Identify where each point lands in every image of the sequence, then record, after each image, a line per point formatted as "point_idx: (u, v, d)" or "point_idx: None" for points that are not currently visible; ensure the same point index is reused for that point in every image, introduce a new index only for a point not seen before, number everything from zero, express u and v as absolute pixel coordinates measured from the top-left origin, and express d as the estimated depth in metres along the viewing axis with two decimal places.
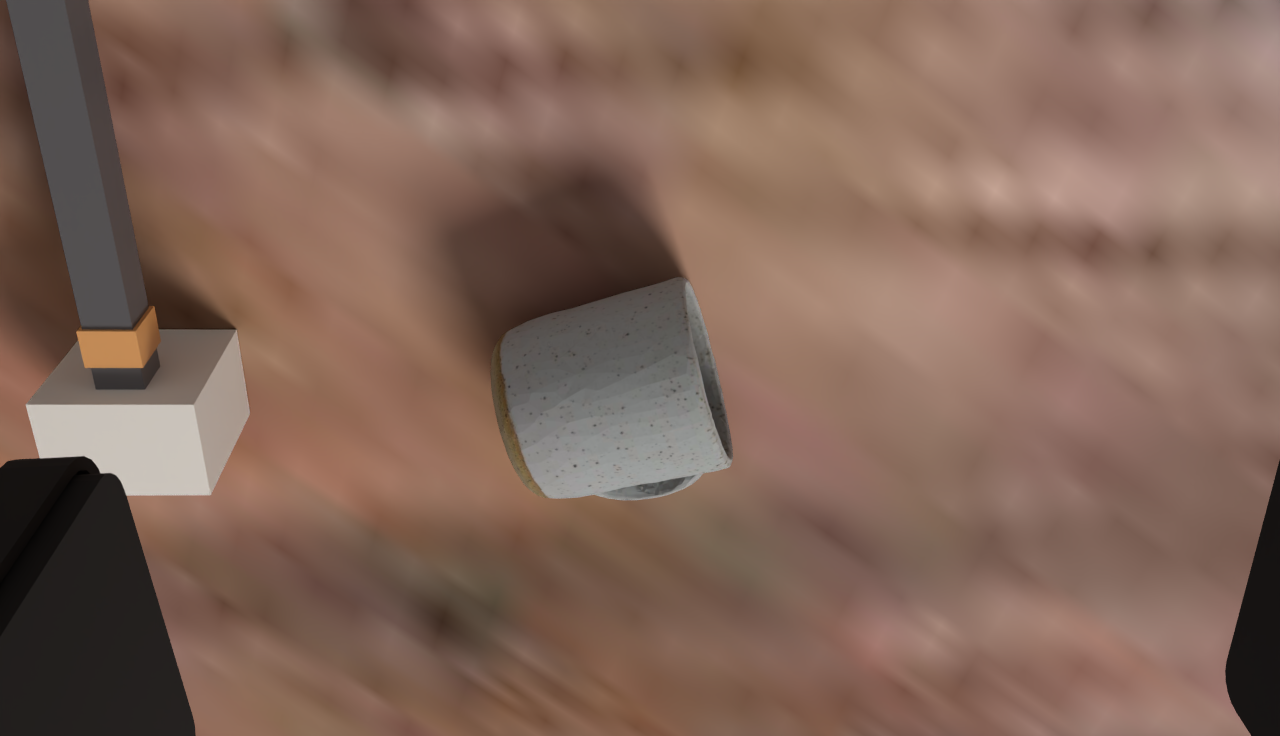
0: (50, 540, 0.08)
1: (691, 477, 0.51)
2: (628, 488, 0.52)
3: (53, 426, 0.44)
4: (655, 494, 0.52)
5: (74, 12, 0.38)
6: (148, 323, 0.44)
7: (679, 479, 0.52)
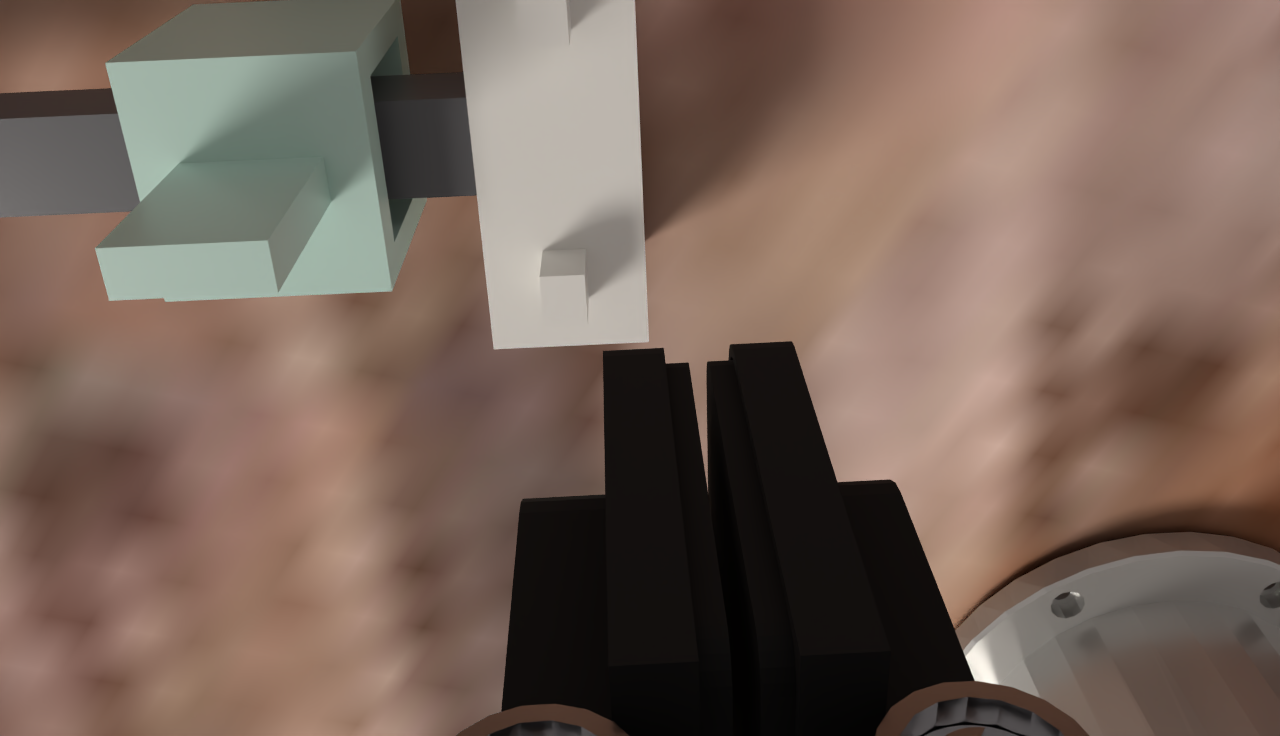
0: (683, 412, 0.09)
1: None
2: None
3: None
4: None
5: None
6: None
7: None
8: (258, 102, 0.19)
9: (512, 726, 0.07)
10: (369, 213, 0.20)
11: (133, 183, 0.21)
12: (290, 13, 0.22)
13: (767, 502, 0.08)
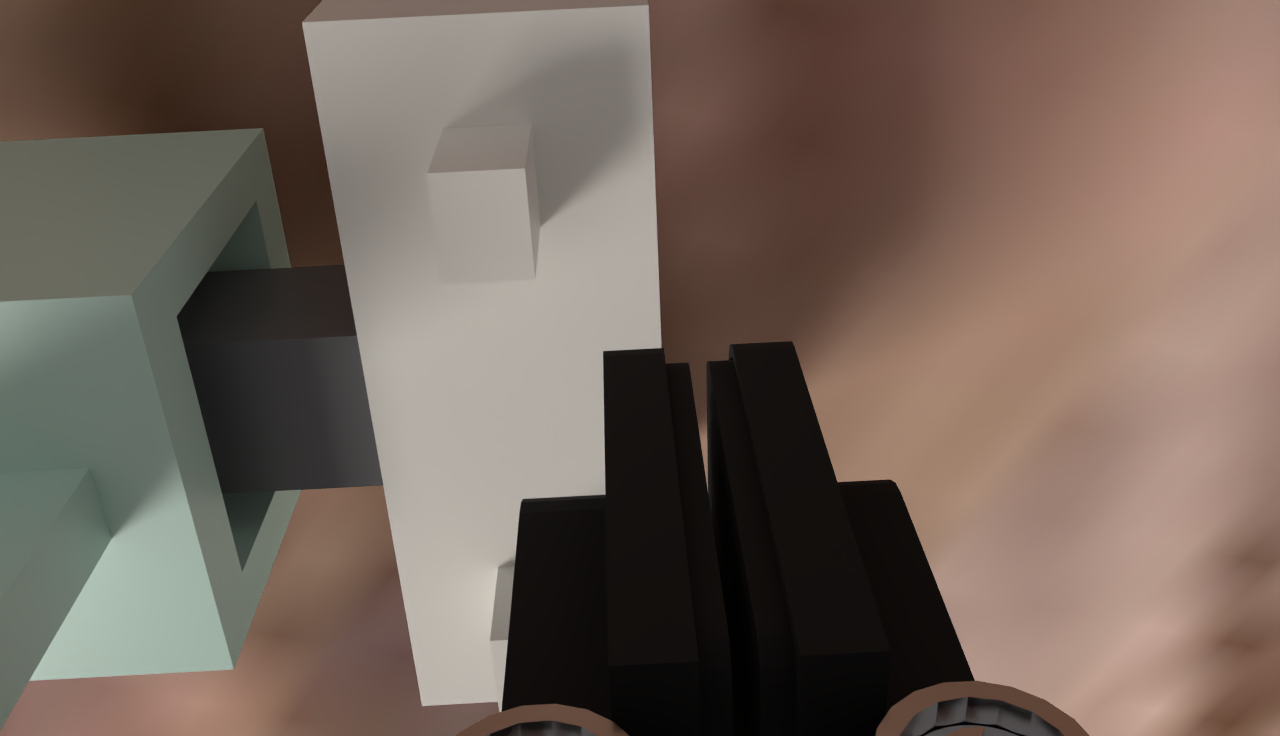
0: (683, 412, 0.09)
1: None
2: None
3: None
4: None
5: None
6: None
7: None
8: None
9: (512, 726, 0.07)
10: (183, 555, 0.11)
11: None
12: (67, 172, 0.13)
13: (766, 502, 0.08)
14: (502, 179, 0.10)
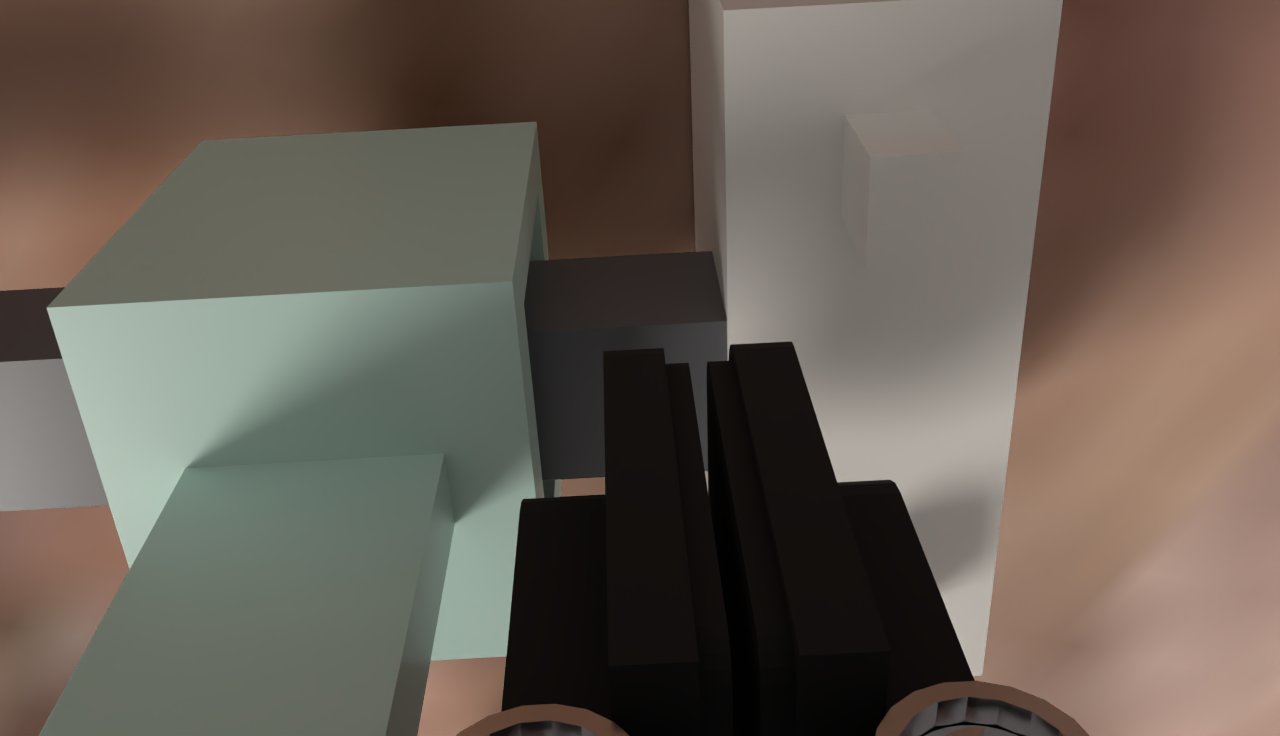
0: (684, 412, 0.09)
1: None
2: None
3: None
4: None
5: None
6: None
7: None
8: (329, 368, 0.11)
9: (513, 726, 0.07)
10: None
11: None
12: (366, 165, 0.13)
13: (767, 502, 0.08)
14: (941, 161, 0.10)
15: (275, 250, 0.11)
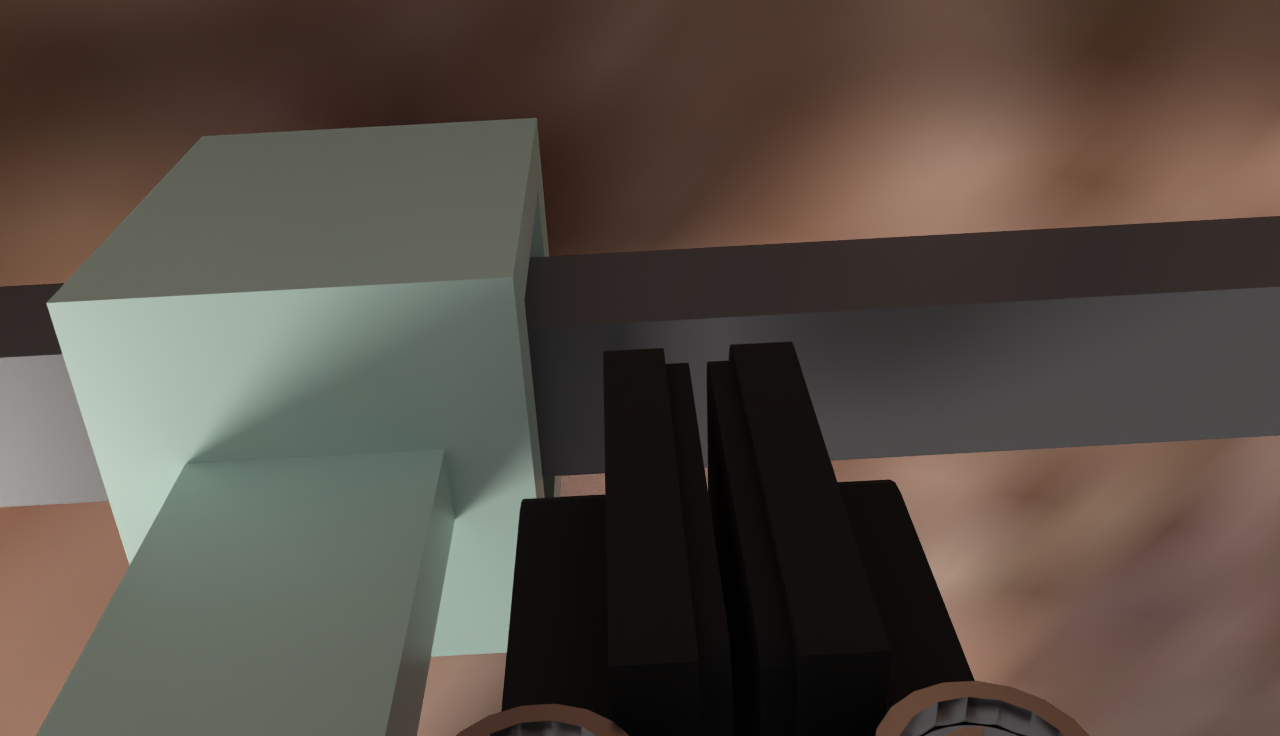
0: (683, 412, 0.09)
1: None
2: None
3: None
4: None
5: None
6: None
7: None
8: (330, 364, 0.11)
9: (512, 726, 0.07)
10: None
11: (1009, 410, 0.13)
12: (366, 161, 0.13)
13: (766, 502, 0.08)
14: None
15: (275, 246, 0.11)
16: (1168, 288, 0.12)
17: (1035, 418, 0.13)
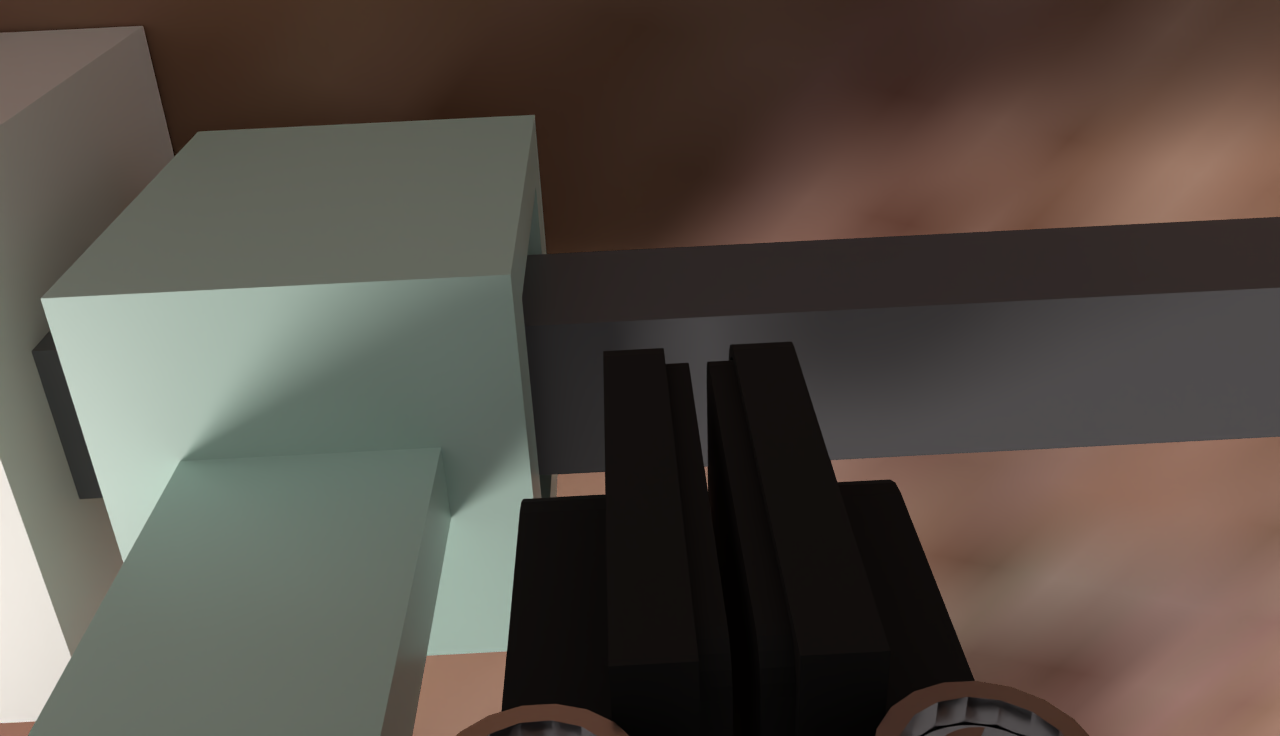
0: (684, 412, 0.09)
1: None
2: None
3: None
4: None
5: None
6: None
7: None
8: (326, 361, 0.11)
9: (513, 726, 0.07)
10: None
11: None
12: (362, 157, 0.13)
13: (767, 502, 0.08)
14: None
15: (271, 242, 0.11)
16: None
17: None
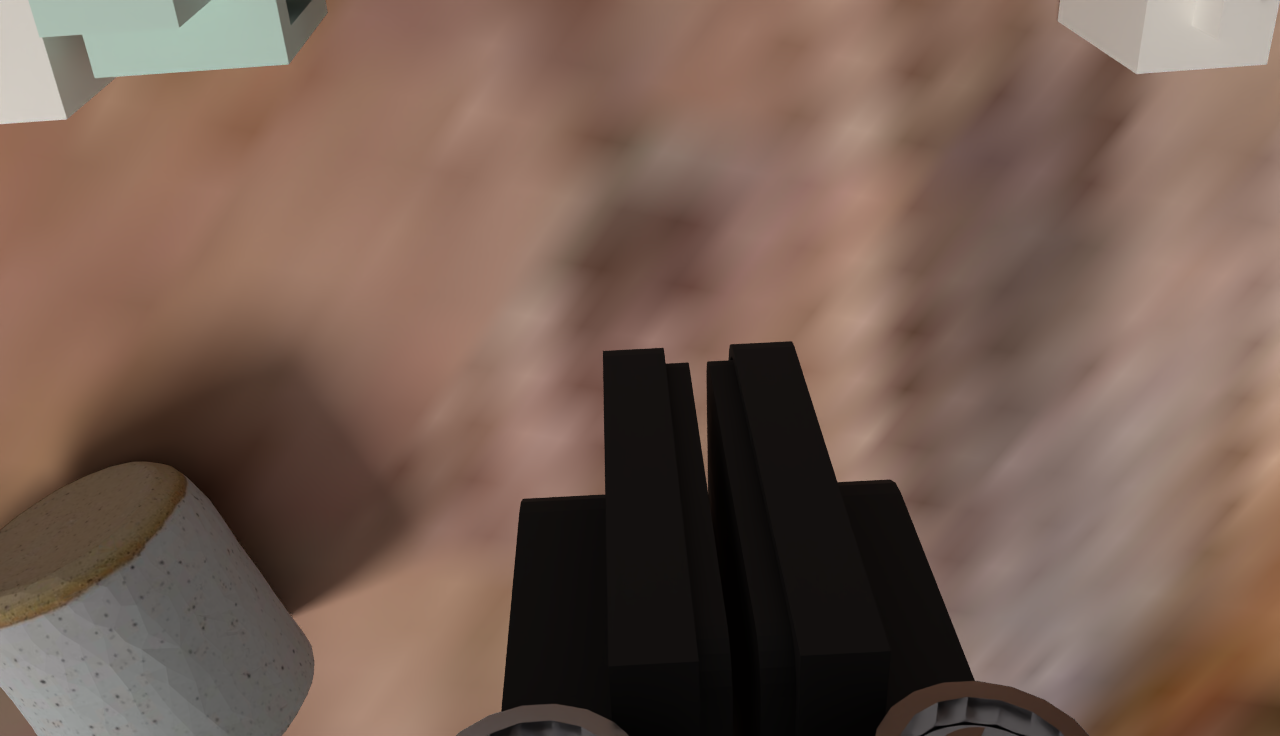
0: (683, 411, 0.09)
1: None
2: None
3: None
4: None
5: None
6: None
7: None
8: None
9: (512, 725, 0.07)
10: None
11: None
12: None
13: (766, 503, 0.08)
14: None
15: None
16: None
17: None
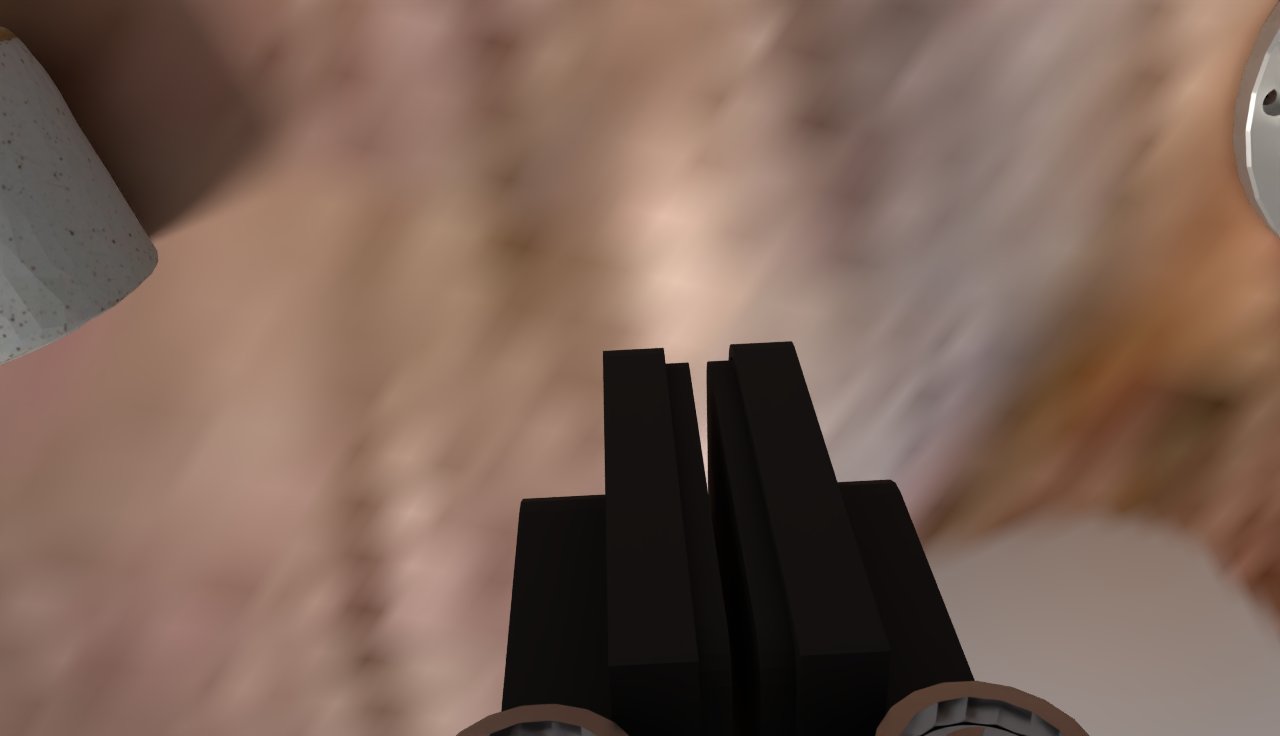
0: (684, 412, 0.09)
1: None
2: None
3: None
4: None
5: None
6: None
7: None
8: None
9: (513, 726, 0.07)
10: None
11: None
12: None
13: (767, 503, 0.08)
14: None
15: None
16: None
17: None
